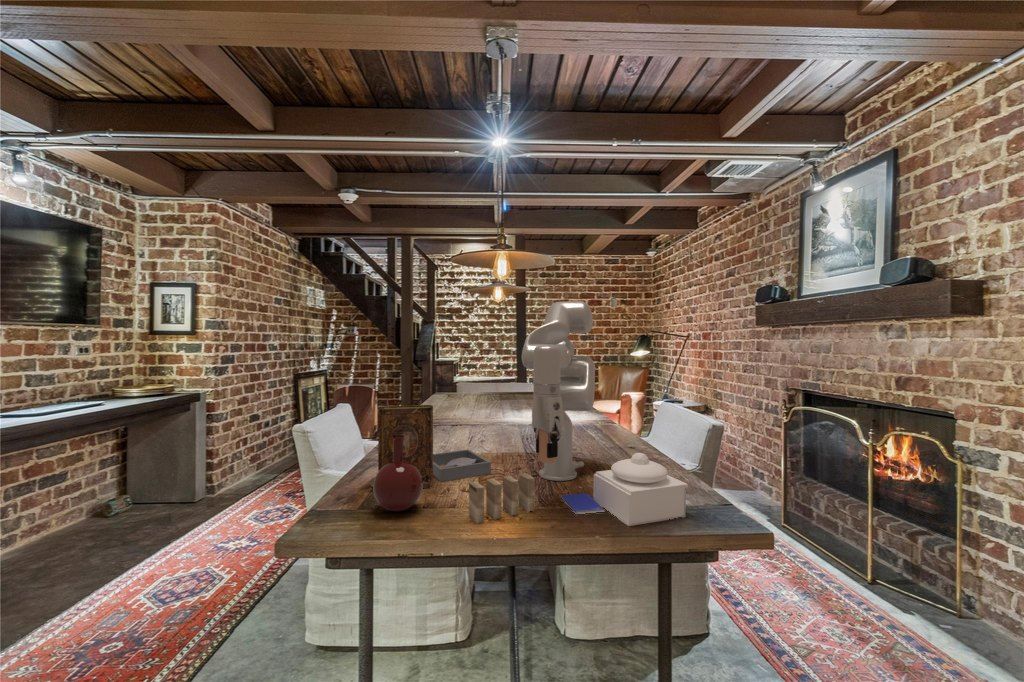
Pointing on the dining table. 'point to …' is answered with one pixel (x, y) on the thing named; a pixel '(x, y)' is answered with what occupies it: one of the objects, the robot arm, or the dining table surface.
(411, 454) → the book
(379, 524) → the dining table surface
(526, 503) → the domino
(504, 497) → the domino
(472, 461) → the stone block
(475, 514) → the domino
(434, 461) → the slate frame
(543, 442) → the domino
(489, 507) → the domino
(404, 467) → the round-bottom flask
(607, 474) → the butter dish
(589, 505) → the hard drive
